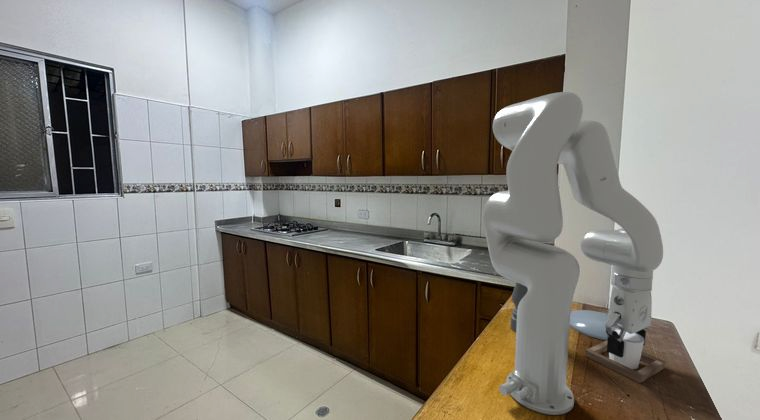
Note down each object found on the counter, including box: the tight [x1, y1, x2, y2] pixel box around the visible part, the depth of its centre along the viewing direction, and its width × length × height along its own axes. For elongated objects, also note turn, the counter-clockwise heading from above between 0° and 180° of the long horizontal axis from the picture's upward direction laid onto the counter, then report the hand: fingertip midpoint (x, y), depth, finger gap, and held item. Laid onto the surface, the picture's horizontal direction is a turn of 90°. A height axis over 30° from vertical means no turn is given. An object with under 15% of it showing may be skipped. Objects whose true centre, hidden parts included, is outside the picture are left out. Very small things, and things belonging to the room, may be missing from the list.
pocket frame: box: [584, 340, 666, 384], centre depth 75 cm, size 12×12×2 cm
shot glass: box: [608, 329, 646, 370], centre depth 75 cm, size 7×7×7 cm
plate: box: [569, 309, 623, 342], centre depth 92 cm, size 18×18×1 cm
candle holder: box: [510, 282, 528, 333], centre depth 90 cm, size 6×6×25 cm
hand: (625, 348), depth 75 cm, fingers open, 9 cm apart
